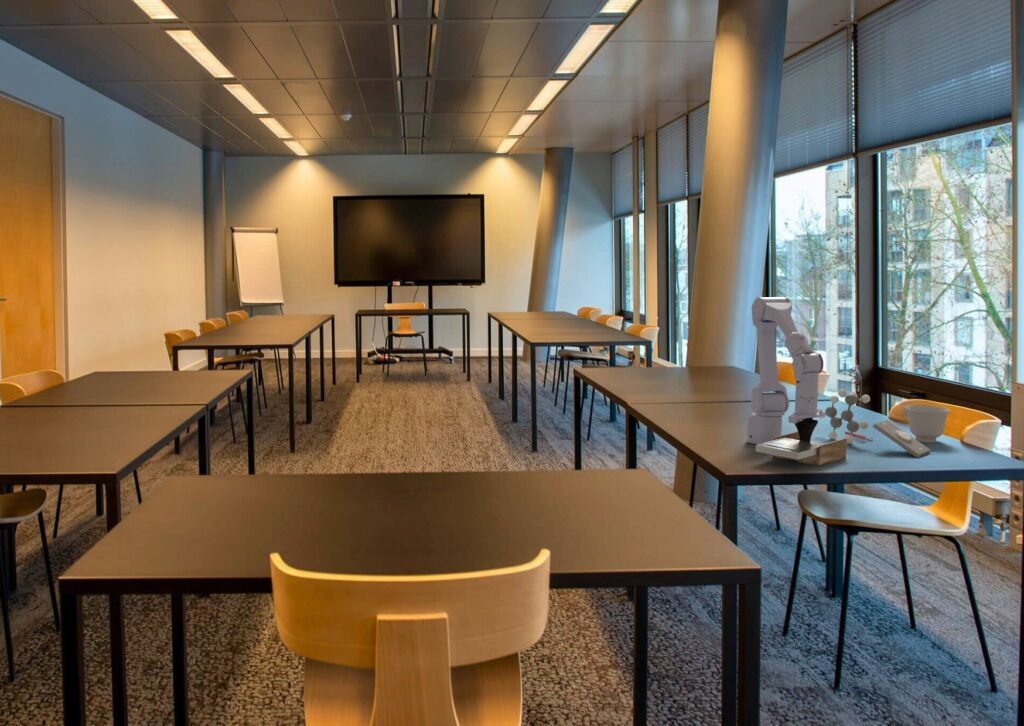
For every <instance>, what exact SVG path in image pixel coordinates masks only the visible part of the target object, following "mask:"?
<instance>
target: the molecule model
mask: <svg viewBox="0 0 1024 726" xmlns="http://www.w3.org/2000/svg"><path fill="white" fill-rule="evenodd" d="M839 397H840V398H844V402H845V404H846V405H847V406H848V407H847V409H845V410H842V411H841V414H840V417H839V416H837V414H838V410H837V408H836V407H835V406H834V405H835V404H837V403H838V402H839V401H840V399H839ZM829 400H830V403H831V406H827V407H826V408H825V411H824V410H822V417H818V419H824V418H825V417H828V418H830V421H829V423H830V427H832V428H833V431H830V432H829V433H828V438H829V439H830V440H833V441H836V440H837V438H838V433H837V432H836V429H839V428H840V427H842V425H843V421H844V422H847V424H846V430H847V431H845V432H844V435H847V436H845V438H847V443H846V445H851V444H853V443H854V441H855V439H854V437H855V438H859V439H862V440H871V441H873V440H874V438H870V437H867V436H865V435H860V434H857V433H856V432H858V431H859V430H860V429H861V430H867V429H868V428H869V423H868V422H867V421H866V420H862V421H860V422H859V423H858V422H857V421H855V420H854V419H853V418H854V413H853V411H852V410H851V407H852V406H854V405H856V404H857V403H858V401H861V402H862V403H864V404H867V403H870V401H871V397H870V395H868V394H863V395H862V396H861V397H860V398H858V394H857V393H856V392H855V391H852V392H850V393H849V394H848V392H847V390H846V389H845V388H844V389H843V388H841V389H839V390H838V391H837V395H835V394H832V395H831V396H830V397H829Z"/></svg>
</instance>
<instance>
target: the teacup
mask: <svg viewBox="0 0 1024 726" xmlns="http://www.w3.org/2000/svg"><path fill="white" fill-rule="evenodd" d="M950 412H951V410H950V409H949V408H946V407H943V406H937V405H927V404H925V405H924V404H921V405H920V404H915V405H912V404H911V405H909V404H906V405H905V406H903V409H902V413H903V416H904V419H906V420H907V421H908V426H909V431H910V433H911V434H912V435H913V436H914V437H915V439H916V440H917V441H919V442H920V443H929V444H930V443H936V442H937V438H939V437H941V436H942V435H943V434H944V432H945V431H944V430H945V427H946V421H947V417H948V414H949V413H950Z"/></svg>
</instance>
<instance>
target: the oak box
mask: <svg viewBox="0 0 1024 726" xmlns="http://www.w3.org/2000/svg"><path fill="white" fill-rule="evenodd" d="M780 438H789V439H795V440H800V438H799V433H798V430H797V431H793V432H789V433H786V434H785V433H784V434H781V436H777V437H774V440H777V439H780ZM810 442H812V443H817V444H823V445H819V454H815V455H812V456H809V457H805V458H802V459H799V460H797V459H791V458H786V457H781V456H776V455H772V457H773V458H776V459H777V458H778V459H782V460H784V461H785V460H786V461H791V462H792V461H793V462H796V463H800V464H806V465H813V466H817V467H823V466H826V465H829V464H831V463H835V462H838V461H840V460H844V459H847V438H846V437H844V438H841V439H835V440H833V441H831V442H827V443H822V442H817V441H810Z"/></svg>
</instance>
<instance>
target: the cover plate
mask: <svg viewBox="0 0 1024 726" xmlns="http://www.w3.org/2000/svg"><path fill="white" fill-rule="evenodd" d="M812 442H813V441H812ZM812 442H805V441H800V440H795V439H789V438H780V439H777V440H773V441H769V442H765V443H761V444H755V452H756V453H761V454H767V455H771V456H773V455H776V456H781V457H786V458H791V459H797V460H799V459H802V458H805V457H809V456H812V455H815V454H819V445H823V444H824V443H823V444H817V443H812Z"/></svg>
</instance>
